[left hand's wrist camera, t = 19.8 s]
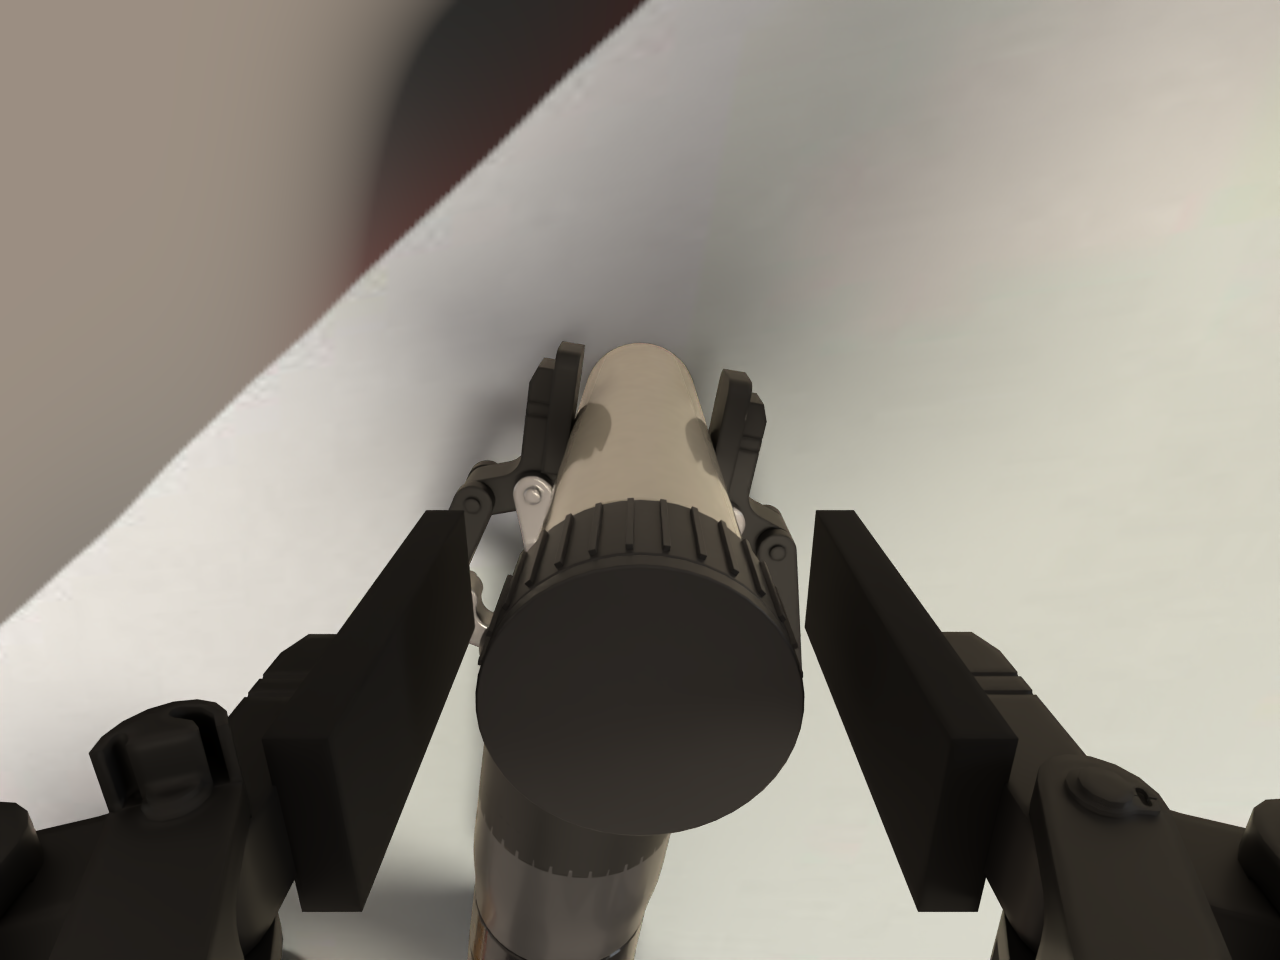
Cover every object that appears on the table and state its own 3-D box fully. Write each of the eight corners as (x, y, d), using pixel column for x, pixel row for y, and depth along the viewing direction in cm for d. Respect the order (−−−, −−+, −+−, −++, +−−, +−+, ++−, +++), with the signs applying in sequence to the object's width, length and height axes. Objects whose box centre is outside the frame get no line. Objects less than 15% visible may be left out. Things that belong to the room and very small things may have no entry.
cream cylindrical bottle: (621, 321, 27) (590, 501, 10) (716, 380, 28) (836, 641, 11) (564, 415, 28) (451, 715, 11) (656, 469, 29) (680, 825, 12)
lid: (730, 760, 14) (748, 867, 11) (476, 704, 13) (443, 805, 11) (819, 534, 12) (861, 609, 10) (532, 462, 12) (505, 522, 9)
